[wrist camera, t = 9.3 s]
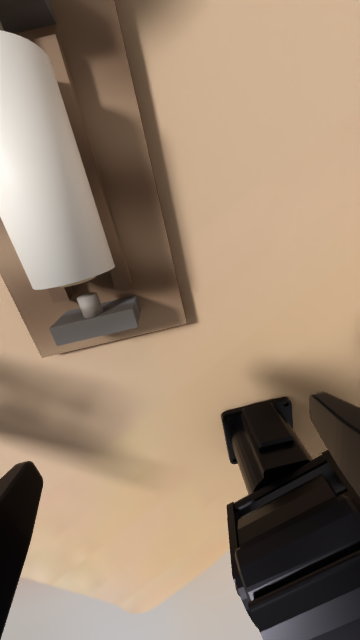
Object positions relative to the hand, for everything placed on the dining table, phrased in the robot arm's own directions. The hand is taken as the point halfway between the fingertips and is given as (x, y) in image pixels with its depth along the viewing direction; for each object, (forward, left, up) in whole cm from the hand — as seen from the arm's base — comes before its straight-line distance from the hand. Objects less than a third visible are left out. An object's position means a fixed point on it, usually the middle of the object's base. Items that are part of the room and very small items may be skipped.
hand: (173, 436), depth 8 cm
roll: (+9, +4, -10) cm, 14 cm away
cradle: (+9, +4, -12) cm, 16 cm away
